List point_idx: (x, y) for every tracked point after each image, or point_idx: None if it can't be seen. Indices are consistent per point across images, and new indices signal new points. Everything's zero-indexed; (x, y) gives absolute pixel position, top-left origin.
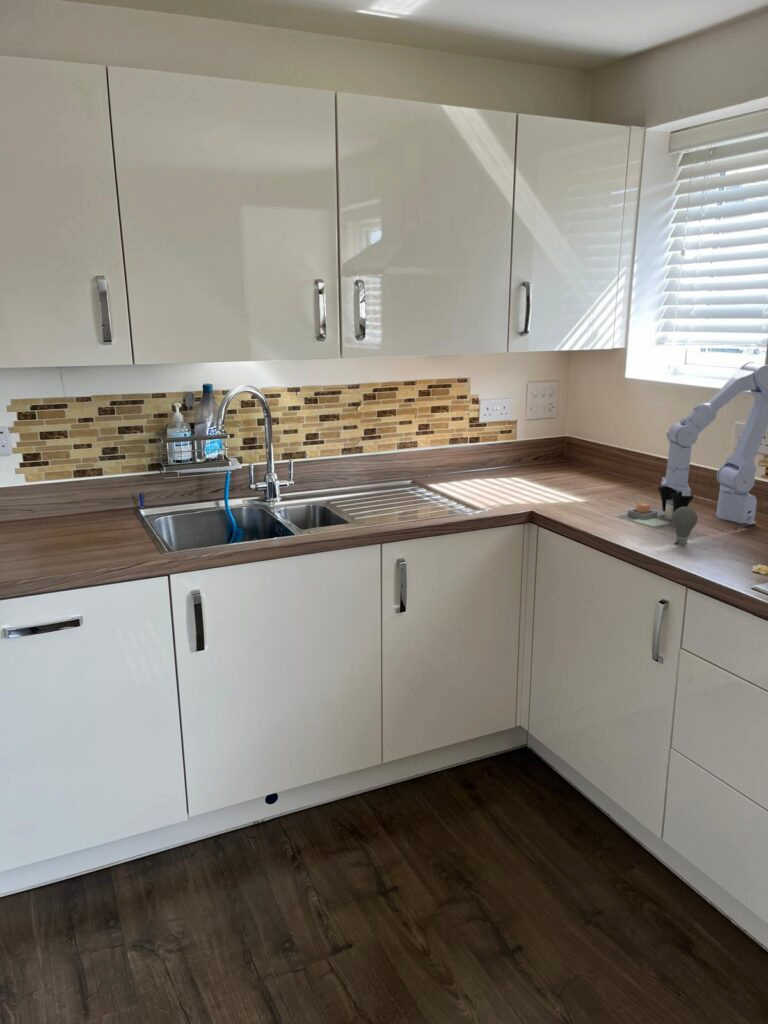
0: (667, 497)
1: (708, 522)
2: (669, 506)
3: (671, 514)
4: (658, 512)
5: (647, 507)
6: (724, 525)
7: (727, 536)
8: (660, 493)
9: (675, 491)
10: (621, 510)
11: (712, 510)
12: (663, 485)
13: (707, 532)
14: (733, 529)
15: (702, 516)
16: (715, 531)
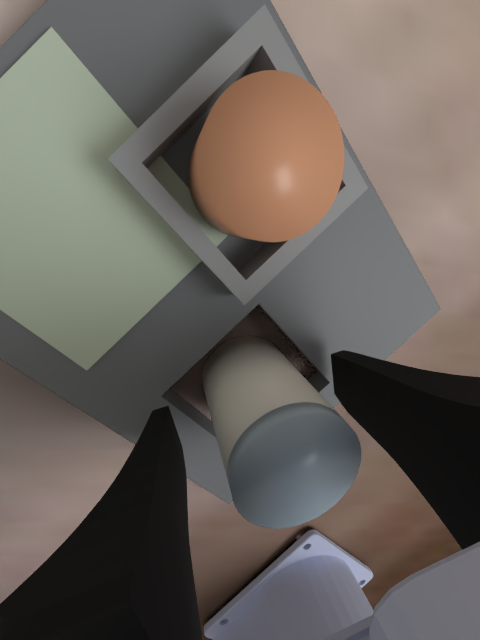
0: (411, 427)
1: None
2: (239, 417)
3: (214, 399)
4: (361, 320)
5: (207, 200)
6: (231, 579)
7: None
8: (477, 383)
9: (463, 530)
10: (473, 90)
11: (441, 525)
12: (391, 611)
13: (67, 535)
14: None
15: (361, 501)
16: None
